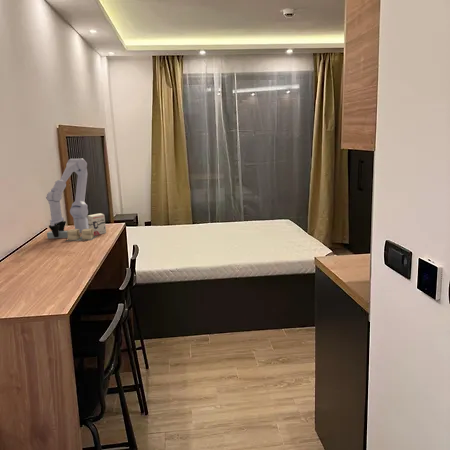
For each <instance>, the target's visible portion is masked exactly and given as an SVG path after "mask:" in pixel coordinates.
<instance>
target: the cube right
mask: <svg viewBox="0 0 450 450" xmlns="http://www.w3.org/2000/svg"><path fill="white" fill-rule="evenodd" d="M81 232H82V233H81V236H82V240H84V239H92V238H94V236H95V235H94V231H93V228H92V229H83V230H82V231H81ZM94 239H95V238H94Z"/></svg>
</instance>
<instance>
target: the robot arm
mask: <svg viewBox="0 0 450 450" xmlns="http://www.w3.org/2000/svg"><path fill="white" fill-rule="evenodd" d="M65 165H66V167H65V169H64V171H63V173H62V175H61V177H60V179H58V180H56V181H55V182H54V185H53V187H52V188H51V189H50V191H48V192H47V193H46V196H45V198H46V200H47V201H48V204H49V211H50V212H49V213H50V218H51V219H49V222H50V223H49V225H48V228H49V229H50V230H51V231H52V233H53V235H54V237H58V236H59V231H65V228H66V227H65V226H66V224H67V222H66V220H65V219H64V217H63V214H62V209H61V207H62V206H61V200H62V197H63V196H62V195H63V192H64V190H65V189H66V187H67V181H68V180H69V178H70V177H71V175H72V174H73V173H75V174H76V175H77V179H76V188H75V189H76V190H75V199H74V202H72V203H71V207H70V209H69V214H70V215H71V216H72V218H73V226H74V229H79V231H80V234H82V232H81V231H82V230H83V229H89V225H88V217H87V216H88V214H89V208H88V204H87V203H86V201H85V199H86V193H87V182H88V168H87V167H88V162H87V161H86V160H85V159H84V158H69V159H68V161H67V163H66V164H65Z"/></svg>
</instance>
